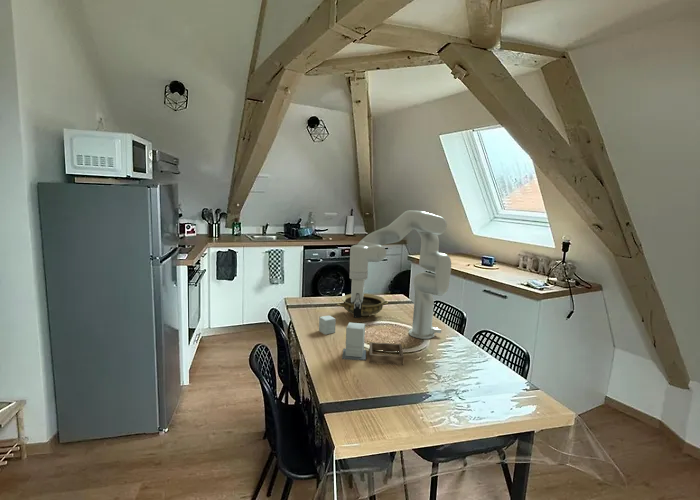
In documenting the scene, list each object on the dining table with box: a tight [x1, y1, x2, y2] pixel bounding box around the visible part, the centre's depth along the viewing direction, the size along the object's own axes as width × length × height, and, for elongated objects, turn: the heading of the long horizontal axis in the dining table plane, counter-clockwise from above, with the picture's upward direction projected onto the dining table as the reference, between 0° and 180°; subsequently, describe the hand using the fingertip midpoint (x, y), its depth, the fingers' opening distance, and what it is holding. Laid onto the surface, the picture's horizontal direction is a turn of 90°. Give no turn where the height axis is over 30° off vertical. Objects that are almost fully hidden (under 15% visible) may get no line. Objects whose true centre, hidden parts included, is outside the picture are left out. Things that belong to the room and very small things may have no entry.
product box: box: [318, 315, 336, 336], centre depth 207 cm, size 6×6×7 cm
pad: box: [341, 348, 367, 362], centre depth 181 cm, size 10×10×1 cm
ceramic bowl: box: [336, 293, 389, 319], centre depth 233 cm, size 30×24×10 cm
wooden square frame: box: [368, 341, 405, 366], centre depth 180 cm, size 14×14×4 cm
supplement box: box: [345, 321, 366, 357], centre depth 180 cm, size 7×7×13 cm
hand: (357, 313), depth 178 cm, fingers open, 9 cm apart
